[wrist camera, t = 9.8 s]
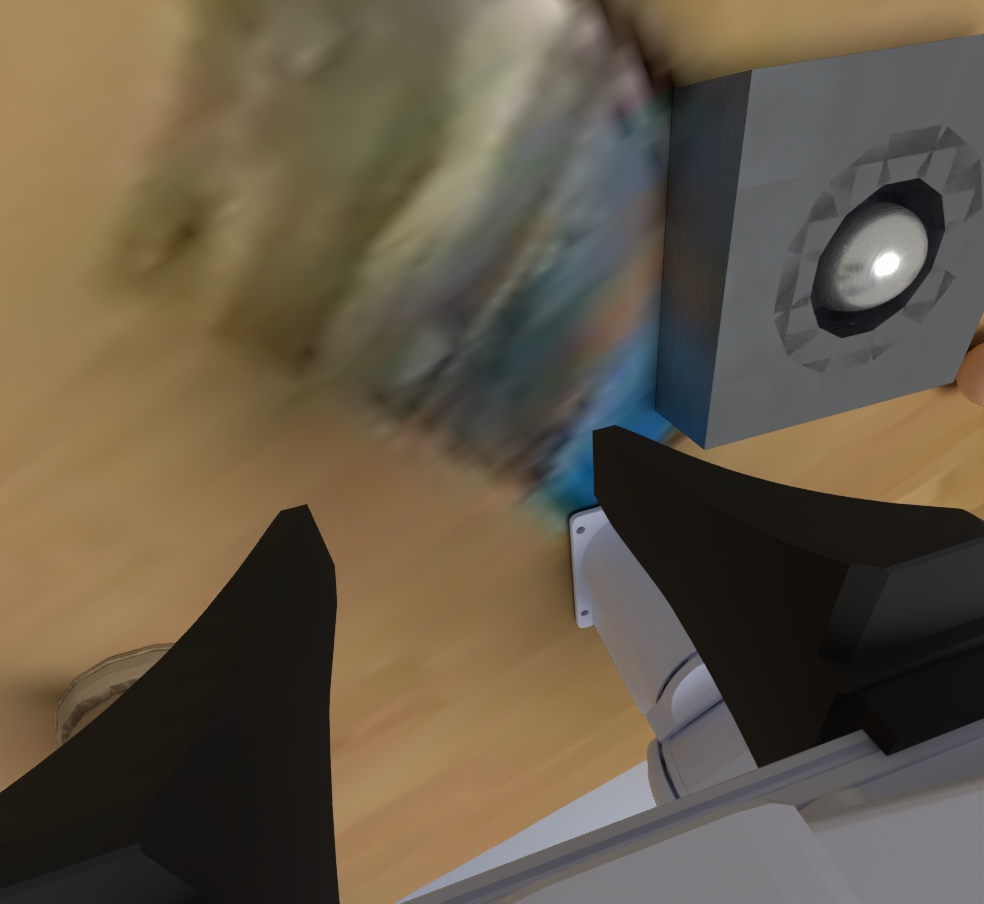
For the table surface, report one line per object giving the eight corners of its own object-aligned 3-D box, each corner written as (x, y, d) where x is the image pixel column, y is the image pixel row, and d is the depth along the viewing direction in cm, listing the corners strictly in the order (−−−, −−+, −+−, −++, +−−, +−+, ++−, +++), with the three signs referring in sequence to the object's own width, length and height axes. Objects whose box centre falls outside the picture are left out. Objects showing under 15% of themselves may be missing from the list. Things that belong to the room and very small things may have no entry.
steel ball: (848, 287, 22) (937, 309, 18) (770, 308, 21) (846, 334, 18) (870, 189, 20) (976, 193, 16) (784, 210, 19) (874, 219, 16)
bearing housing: (875, 354, 26) (953, 382, 22) (655, 410, 24) (704, 449, 20) (975, 41, 19) (1110, 14, 15) (673, 89, 17) (752, 69, 13)
